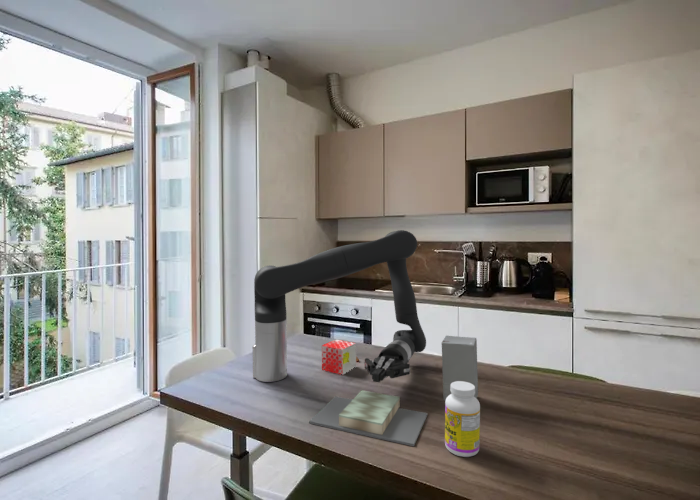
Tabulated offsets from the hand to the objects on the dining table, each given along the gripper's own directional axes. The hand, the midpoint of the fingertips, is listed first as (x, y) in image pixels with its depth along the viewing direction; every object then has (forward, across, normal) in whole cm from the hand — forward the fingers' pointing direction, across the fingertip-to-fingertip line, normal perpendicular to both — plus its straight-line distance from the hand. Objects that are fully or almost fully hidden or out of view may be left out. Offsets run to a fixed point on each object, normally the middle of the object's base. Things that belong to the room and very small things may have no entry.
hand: (376, 378), depth 90 cm
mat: (+4, 0, +8) cm, 9 cm away
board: (-3, 0, +6) cm, 7 cm away
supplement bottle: (+9, +21, +8) cm, 24 cm away
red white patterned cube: (-22, -20, +8) cm, 31 cm away
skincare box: (-14, +18, +8) cm, 24 cm away
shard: (-35, -22, +9) cm, 42 cm away
